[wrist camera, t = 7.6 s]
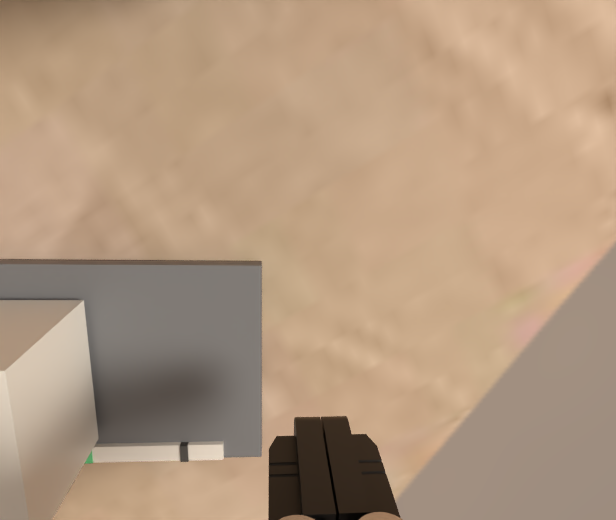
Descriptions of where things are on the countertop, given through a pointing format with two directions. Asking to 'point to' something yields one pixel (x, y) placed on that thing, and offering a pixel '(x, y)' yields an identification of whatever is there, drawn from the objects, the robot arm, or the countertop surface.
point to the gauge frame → (163, 351)
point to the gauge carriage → (43, 405)
